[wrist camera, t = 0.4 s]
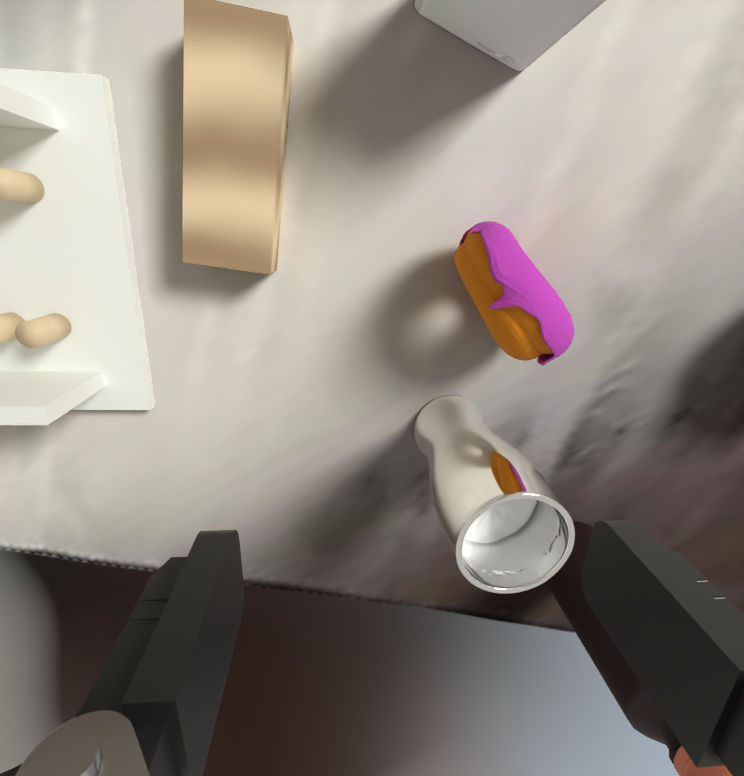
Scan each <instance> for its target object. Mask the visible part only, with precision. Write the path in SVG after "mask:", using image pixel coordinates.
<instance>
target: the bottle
mask: <svg viewBox="0 0 744 776" xmlns="http://www.w3.org/2000/svg"><path fill="white" fill-rule="evenodd" d="M573 524H574V528H575V541H574V546H573V549H572V552H571V554H570V556H569V558H568V560H567V561H566V563H565V564H564V566H563V567H562V568H561V569H560V570H559V571H558V572H557V573H556V574H555V575H554V576H553V577H551V578H550V579H549V580H547V581H546V583H547V585H548V587H549V588H550V590H551V592H552V594H553V595H554V597H555V599H556V600H557V602H558V604H559V605H560V607H561V609H562V610H563V612H564V614H565V615H566V617H567V619H568V620H569V622H570V624H571V625H572V627H573V629H574V630H575V632H576V634H577V635H578V637H579V639H580V640H581V642H582V644H583V645H584V647H585V649H586V650H587V652H588V654H589V655H590V657H591V659H592V660H593V662H594V664H595V665H596V667H597V669H598V670H599V672H600V674H601V676H602V677H603V679H604V681H605V682H606V684H607V686H608V687H609V689H610V691H611V692H612V694H613V696H614V697H615V699H616V701H617V702H618V704H619V706H620V707H621V709H622V711H623V712H624V714H625V716H626V717H627V719H628V720H629V722H630V723H631V725H632V726H633V728H634V729H636V730H637V731H639V732H640V733H642V734H643V735H645V736H647V737H649V738H651V739H653V740H656V741H658V742H661V743H663V744H665V745H667V747H668V748H669V758H670V760H671V761H672V763H673V764H674V767H675V769H676V771H677V772H678V774H679V775H680V776H732V775H731V773H730V772H729V770H728V769H727V768H726V766H713V767H699V768H696V766H695V765H694V763H693V762H692V760H691V759H690V757H689V755H688V754H687V752H686V751H685V749H684V748H683V746H682V745H681V743H680V742H679V740H678V739H677V737H676V736H675V734H674V733H673V731H672V730H671V728H670V727H669V725H668V724H667V722H666V721H665V719H664V718H663V716H662V715H661V713H660V712H659V710H658V709H657V707H656V706H655V704H654V703H653V701H652V700H651V698H650V697H649V695H648V693H647V692H646V690H645V689H644V687H643V686H642V684H641V683H640V681H639V680H638V678H637V677H636V675H635V674H634V672H633V671H632V669H631V668H630V666H629V665H628V663H627V662H626V660H625V659H624V657H623V656H622V654H621V653H620V651H619V650H618V648H617V647H616V645H615V644H614V642H613V641H612V639H611V638H610V636H609V635H608V633H607V631H606V630H605V628H604V627H603V625H602V624H601V622H600V621H599V619H598V618H597V616H596V615H595V613H594V612H593V610H592V609H591V607H590V606H589V604H588V602H587V601H586V598H585V596H584V593H583V589H582V584H581V574H582V569H583V565H584V561H585V557H586V553H587V549H588V545H589V541H590V537H591V533H592V529H593V528H592V527H591V526H589V525H587V524H584V523H581V522H573Z"/></svg>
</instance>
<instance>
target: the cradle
mask: <svg viewBox="0 0 744 776" xmlns="http://www.w3.org/2000/svg"><path fill="white" fill-rule="evenodd" d="M154 406H155V400H154V393H153V386H152V379H151V372H150V364H149V357H148V350H147V343H146V336H145V329H144V322H143V315H142V308H141V301H140V294H139V287H138V280H137V272H136V265H135V258H134V251H133V244H132V237H131V230H130V223H129V216H128V209H127V202H126V195H125V188H124V181H123V173H122V166H121V159H120V152H119V145H118V138H117V131H116V124H115V117H114V110H113V103H112V96H111V89H110V81H109V80H108V79H107V78H105V77H104V76H102V75H97V74H82V73H67V72H51V71H36V70H20V69H5V68H0V425H49V424H50V423H52V422H53V421H55V420H56V419H58V418H59V417H61V416H62V415H64V414H65V413H67V412H68V411H70V410H151V409H152V408H153V407H154Z"/></svg>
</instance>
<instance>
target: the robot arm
mask: <svg viewBox="0 0 744 776" xmlns="http://www.w3.org/2000/svg"><path fill="white" fill-rule="evenodd" d="M581 584H582V589H583V593H584V596H585V598H586V601H587V602H588V604H589V606H590V607H591V609H592V610H593V612H594V613H595V615H596V616H597V618H598V619H599V621H600V622H601V624H602V625H603V627H604V628H605V630H606V631H607V633H608V635H609V636H610V638H611V639H612V641H613V642H614V644H615V645H616V647H617V648H618V650H619V651H620V653H621V654H622V656H623V657H624V659H625V660H626V662H627V663H628V665H629V666H630V668H631V669H632V671H633V672H634V674H635V675H636V677H637V678H638V680H639V681H640V683H641V684H642V686H643V687H644V689H645V690H646V692H647V693H648V695H649V697H650V698H651V700H652V701H653V703H654V704H655V706H656V707H657V709H658V710H659V712H660V713H661V715H662V716H663V718H664V719H665V721H666V722H667V724H668V725H669V727H670V728H671V730H672V731H673V733H674V734H675V736H676V737H677V739H678V740H679V742H680V743H681V745H682V746H683V748H684V749H685V751H686V752H687V754H688V755H689V757H690V759H691V760H692V762H693V763H694V765H695V766H696V768H699V767H713V766H726V768H727V769H728V770H729V772H730V773H731V775H732V776H744V613H743V612H741V611H740V610H739V609H738V608H737V607H736V606H735V605H734V604H733V603H732V602H731V601H730V600H726V599H725V595H724V594H723V593H722V592H721V591H720V590H719V589H717V588H716V587H715V586H714V585H713V584H712V583H708V579H707V578H706V577H705V576H704V575H703V574H702V573H701V572H700V571H699V570H698V569H697V568H696V567H695V566H693V565H692V564H691V563H690V562H689V561H688V560H687V559H686V558H684V557H682V556H681V555H679V554H678V553H676V552H675V551H673V550H671V549H670V548H668V547H667V546H665V545H663V544H662V543H658V542H657V541H656V540H655V539H654V538H653V537H652V536H651V535H650V534H649V533H648V532H647V531H646V530H645V529H644V528H643V527H642V526H641V525H639V524H638V523H637V522H635V521H632V520H619V521H598V522H597V523H595V525H594V526H593V529H592V533H591V537H590V541H589V545H588V549H587V553H586V557H585V561H584V565H583V569H582V574H581ZM243 600H244V583H243V573H242V563H241V553H240V543H239V535H238V532H237V530H219V531H200V532H199V533H198V535H197V537H196V539H195V541H194V543H193V546H192V548H191V550H190V552H189V555H188V557H171V558H170V559H169V560H168V561H167V562H166V563H165V564H164V565H163V566H162V567H161V568H160V569H159V570H158V571H156V572H155V573H154V574H153V575H152V576H151V577H150V579H149V581H148V583H147V585H146V587H145V589H144V590H143V593H142V595H141V596H140V598H139V602H138V605H136V606H135V608H134V610H133V611H132V613H131V615H130V617H129V619H128V624H127V625H125V626H124V628H123V630H122V632H121V634H120V636H119V638H118V640H117V641H116V643H115V645H114V647H113V649H112V651H111V653H110V655H109V657H108V659H107V660H106V662H105V664H104V666H103V668H102V670H101V672H100V673H99V676H98V677H97V679H96V681H95V683H94V685H93V687H92V689H91V690H90V693H89V694H88V696H87V698H86V700H85V702H84V704H83V706H82V707H81V709H80V711H79V712H78V714H77V715H76V717H75V718H74V719H72V720H70V721H68V722H66V723H64V724H63V725H61V726H60V727H58V728H57V729H55V730H54V731H53V732H52V733H50V734H49V735H48V736H47V737H45V738H44V740H42V741H41V742H40V743H39V744H38V745H37V746H36V747H35V748H34V750H33V751H32V752H31V753H30V754H29V755H28V757H27V758H26V759H25V761H24V762H23V763H22V764H21V765H19V766H17V767H15V768H13V769H11V770H8V771H6V772H4V773H1V774H0V776H202V774H203V770H204V766H205V762H206V758H207V754H208V750H209V746H210V742H211V737H212V734H213V729H214V726H215V721H216V717H217V713H218V709H219V705H220V701H221V697H222V693H223V689H224V685H225V681H226V677H227V672H228V668H229V664H230V660H231V656H232V652H233V648H234V644H235V640H236V636H237V631H238V627H239V624H240V620H241V615H242V609H243Z"/></svg>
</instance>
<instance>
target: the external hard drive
mask: <svg viewBox="0 0 744 776" xmlns="http://www.w3.org/2000/svg"><path fill="white" fill-rule="evenodd" d="M604 1H606V0H415V4H414V7H415V9H416V10H417V12H418V13H419V14H421V15H422V16H424V17H426V18H427V19H429V20H431V21H432V22H434V23H435V24H437V25H439V26H441V27H442V28H444V29H446V30H447V31H449V32H451V33H453V34H454V35H456V36H458V37H459V38H461V39H463V40H464V41H466V42H468V43H469V44H471V45H473V46H474V47H476V48H477V49H479V50H481V51H483V52H484V53H486V54H487V55H489V56H491V57H493V58H495V59H496V60H498V61H500V62H501V63H503V64H505V65H506V66H508V67H510V68H512V69H514V70H516V71H524V70H525V69H526V68H527V67H528V66H529V65H531V64H532V63H533V62H534V61H535V60H536V59H537V58H539V57H540V56H541V55H542V54H543V53H544V52H546V51H547V50H548V49H549V48H550V47H551V46H553V45H554V44H555V43H556V42H557V41H559V40H560V39H561V38H562V37H563V36H564V35H566V34H567V33H568V32H569V31H570V30H572V29H573V28H574V27H575V26H576V25H577V24H579V23H580V22H581V21H582V20H583V19H584V18H586V17H587V16H588V15H589V14H590V13H591V12H593V11H594V10H595V9H596V8H597V7H598V6H600V5H601V4H602V3H603V2H604Z"/></svg>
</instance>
